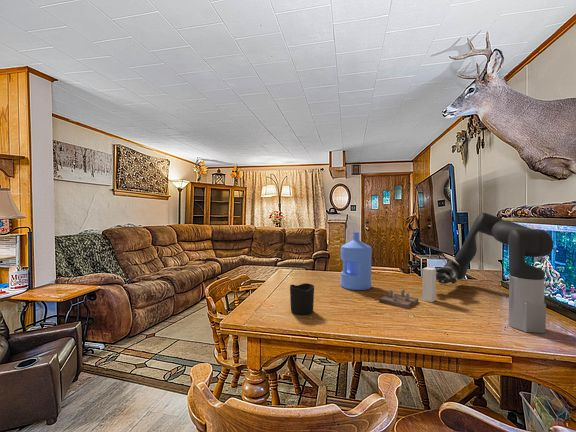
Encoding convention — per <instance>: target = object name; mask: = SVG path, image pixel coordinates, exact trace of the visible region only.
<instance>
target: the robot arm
mask: <svg viewBox="0 0 576 432" xmlns="http://www.w3.org/2000/svg"><path fill="white" fill-rule="evenodd" d="M479 232H480V233H482V234H485V235H487V236H491V237H493V238H494V239H495V240H496V241H497V242H499V243H501V244H503V245H507V249H508V269H509V272H508V273H509V275H508V276H509V277H508V278H509V282H508V325H509V327H512V328H514V329H516V330H520V331H522V332H525V333H535V334H536V333H537V334H546V331H547V330H546V327H547V326H546V325H547V324H546V323H547V304H546V303H545V280H546V279H545V276H546V272H545V270H544V269H542V268H539V267H536V266H533V265H531V264H529V263H528V262H526V259H525V257H526V258H527V257H530V258H543V257H544V258H545V257H547V256H549V255H550V254H551V253H552V251H554V246H555V244H554V239H553V238H552V236H551V234H550V233H549V232H547V231H546V230H544V229H536V228H529V227H526V226H524V225H522V224H519V223H516V222H514V221H511V220H504V219H503V218H501V217H498V216H496V215H493V214H489V213H487V212H481V213H479V214H478V215H477V216H476V218H475V220H474V221H473V223H472V225H471V227H470V229H469V231H468V233H467V236H466V238H465V239H464V242H463V244H462V245H461V247H460V248H459V250H458V252H457V253H456V254H455V257H454V260H455V261H454V260H449V261H447V262H446V263H445V265H444V266H442V267H440V268H438V269H437V268H436V282H438V283H439V284H442V285H446V284H456V283H457V282H458V280H459V281H461V280H462V279H464V278H465V277H466V275H467V272H468V269H469V268H468V267H469V265H470V263H471V262H472V261H473V259H474V258H475V256H476V255H477V251H478V250H477V247H478V246H477V235H478V233H479Z"/></svg>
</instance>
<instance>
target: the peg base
mask: <svg viewBox="0 0 576 432" xmlns="http://www.w3.org/2000/svg"><path fill="white" fill-rule="evenodd" d="M393 291H394V290H393V289H388V294H387V295H386V294H385V295H384V296H381V297H380V298H378V302H379V303H382V304H387V305H390V306H394V307H399V308H403V309H409V308H410V307H412V306H414V305H416V304H417V303H419V298H418V297H413V296H410V293H409V292H405V289H403V288H402V289H401V290H400V294H398V293H396V292H393Z"/></svg>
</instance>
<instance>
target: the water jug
mask: <svg viewBox="0 0 576 432" xmlns="http://www.w3.org/2000/svg"><path fill="white" fill-rule="evenodd" d="M372 253H373V251H372V246H370V245H369V244H368V243H367V244H366V243H365V242H363V241H361V240H360V232H357V231H356V232H353V231H352V240H351V241H349V242H347V243H344V244H342V245H341V246H340V260H341V261H342V270H341V272H340V280H339V281H340V286H341V287H342V288H343V289H345V290H350V291H367V290H369V289H371V288H372V268H373V267H372V256H373V255H372Z"/></svg>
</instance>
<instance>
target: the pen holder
mask: <svg viewBox="0 0 576 432" xmlns="http://www.w3.org/2000/svg"><path fill="white" fill-rule="evenodd" d="M289 293H290V294H289V296H290V298H289V299H290V301H289V302H290V312H291V313H292V314H293V315H297V316H308V315H311V314H312V313H313V312H314V302H315V301H314V298H315V285H314V284H312V283H308V282H307V283H301V284H298V285H297V284H296V285H295V284H290V285H289Z"/></svg>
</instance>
